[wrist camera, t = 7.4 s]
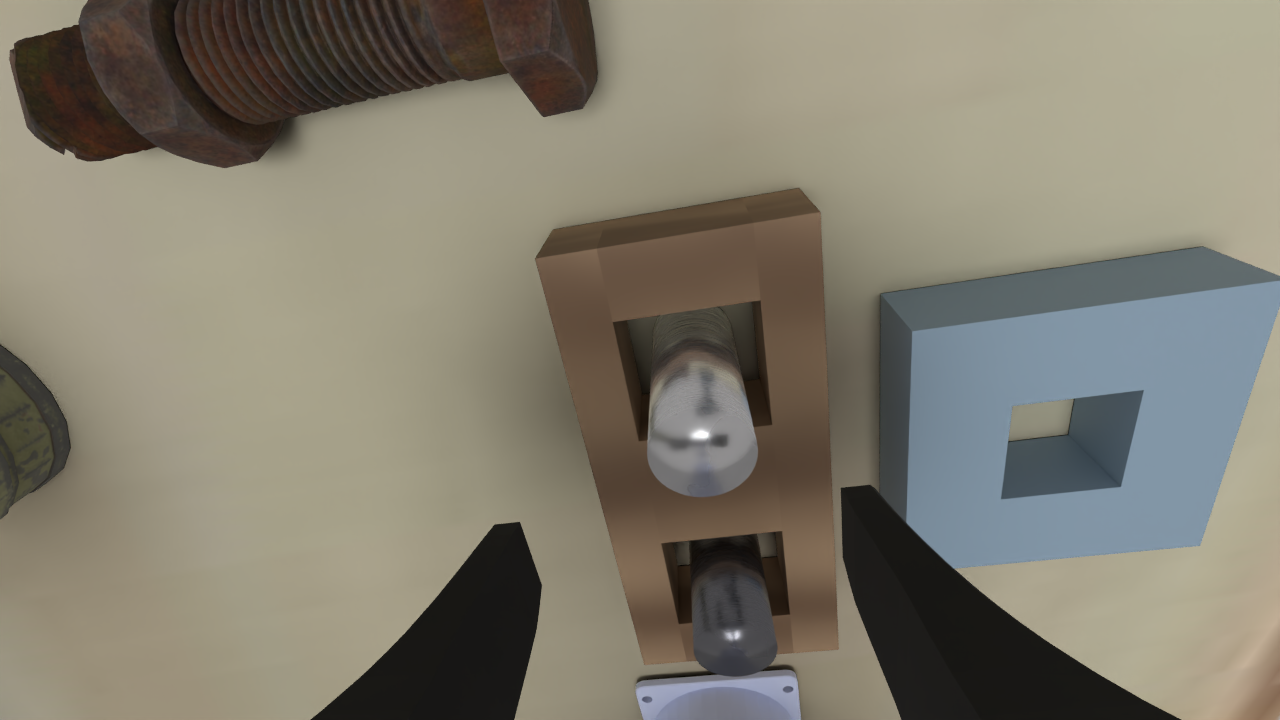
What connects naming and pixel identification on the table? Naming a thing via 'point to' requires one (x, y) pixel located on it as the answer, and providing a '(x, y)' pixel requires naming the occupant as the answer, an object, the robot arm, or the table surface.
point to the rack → (779, 401)
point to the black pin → (730, 606)
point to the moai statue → (27, 432)
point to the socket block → (1102, 413)
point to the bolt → (279, 66)
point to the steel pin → (698, 406)
